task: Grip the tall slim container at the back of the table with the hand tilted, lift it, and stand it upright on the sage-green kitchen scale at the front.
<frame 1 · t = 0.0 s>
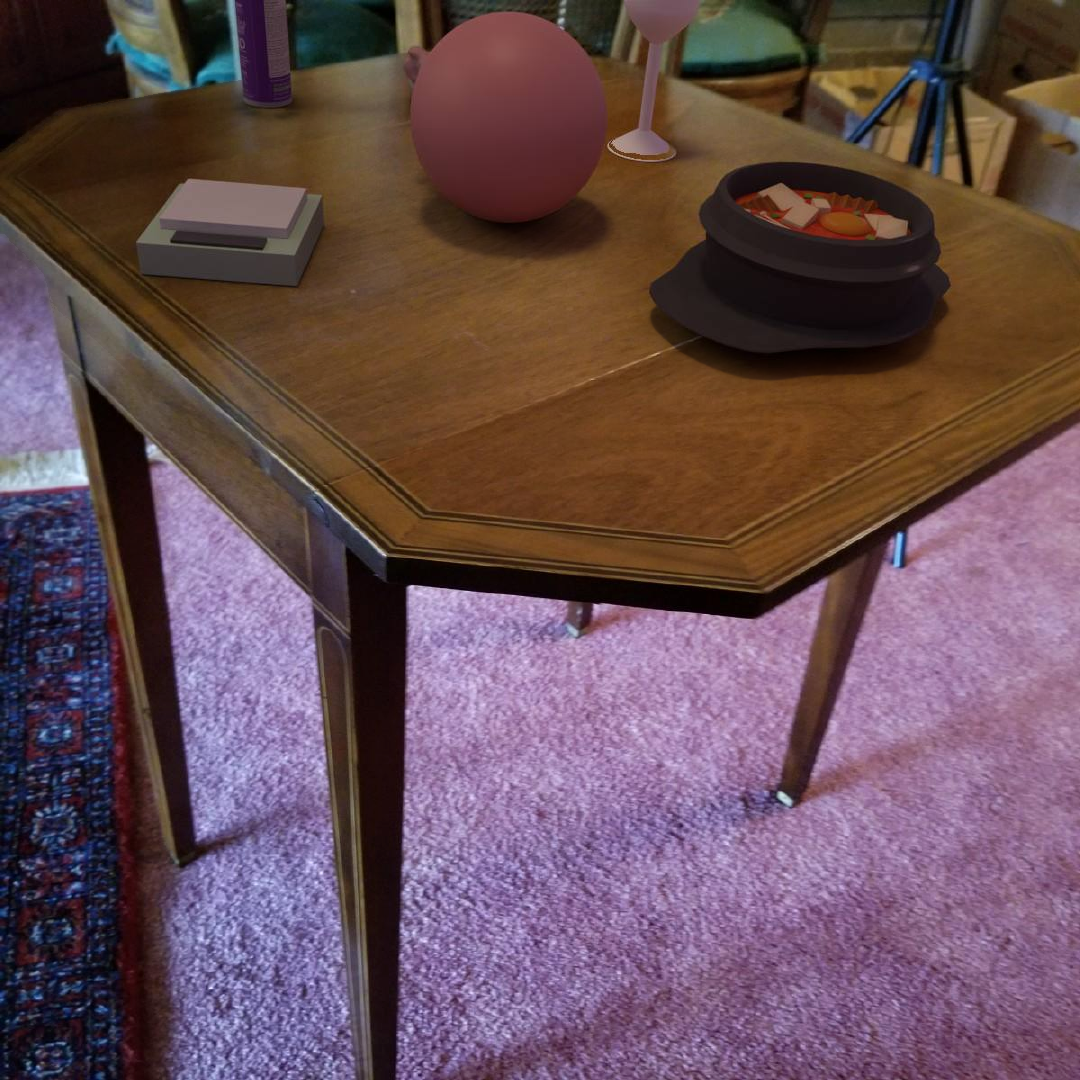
container: (268, 102, 108), on the table
scale: (237, 248, 81), on the table
sea urchin shell: (452, 105, 111), on the table
casserole: (797, 310, 81), on the table
balloon: (486, 207, 91), on the table
champagne flute: (641, 151, 105), on the table
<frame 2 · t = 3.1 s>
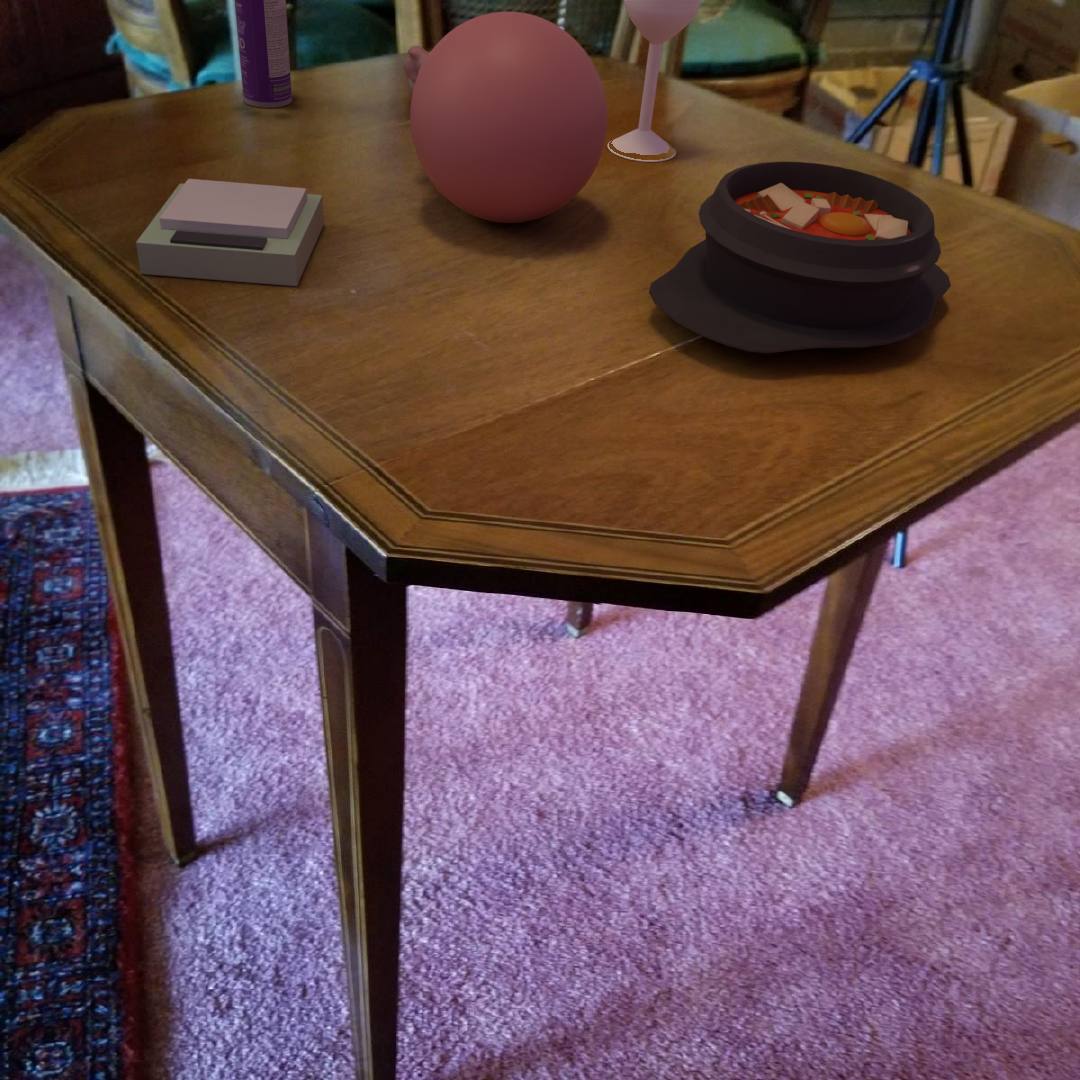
nothing on the table moved.
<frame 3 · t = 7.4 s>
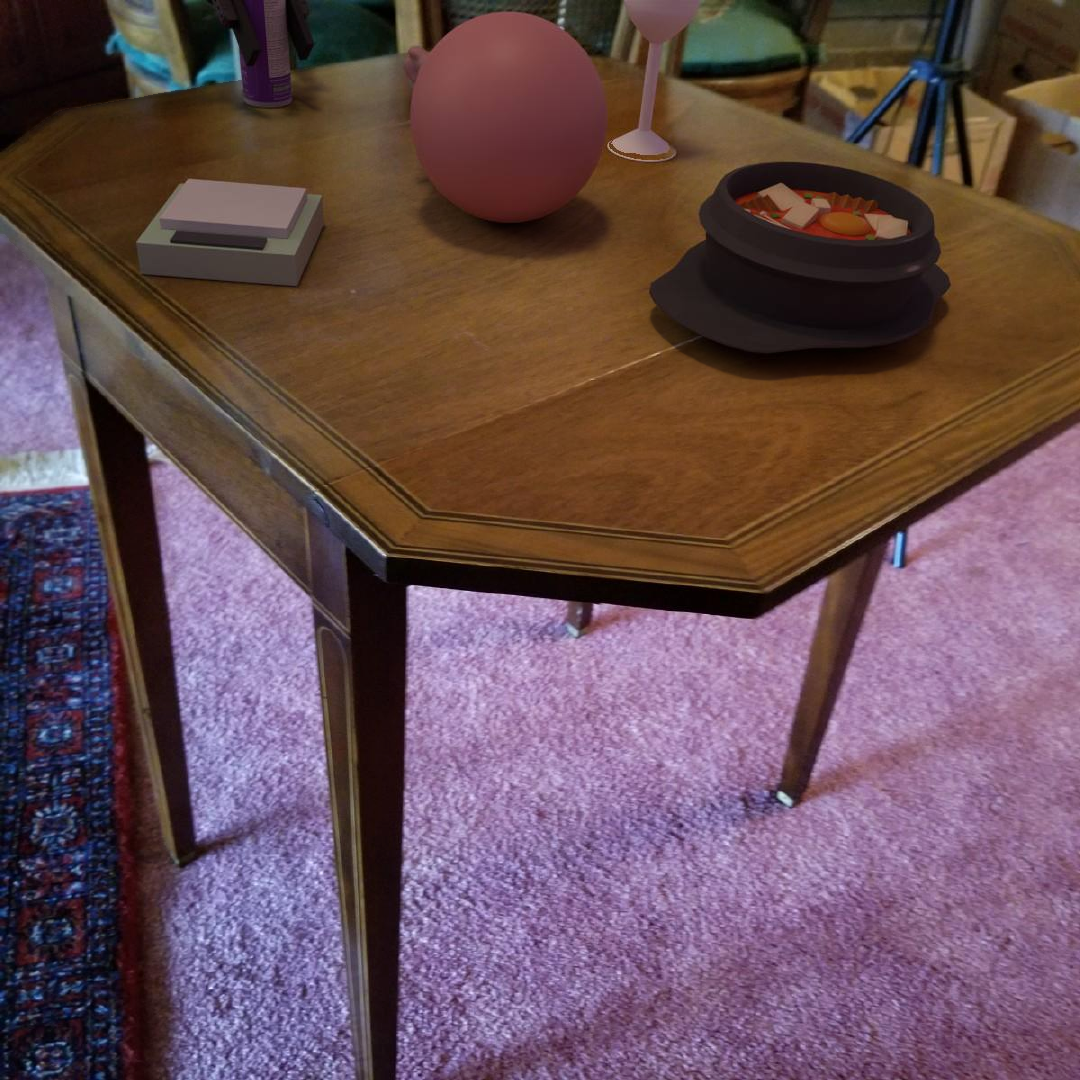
hand: (280, 54, 102), 5 cm above the table, tool tilted 45°, fingers closed on container, 5 cm apart
container: (268, 102, 108), on the table, touching gripper
everything else where it was.
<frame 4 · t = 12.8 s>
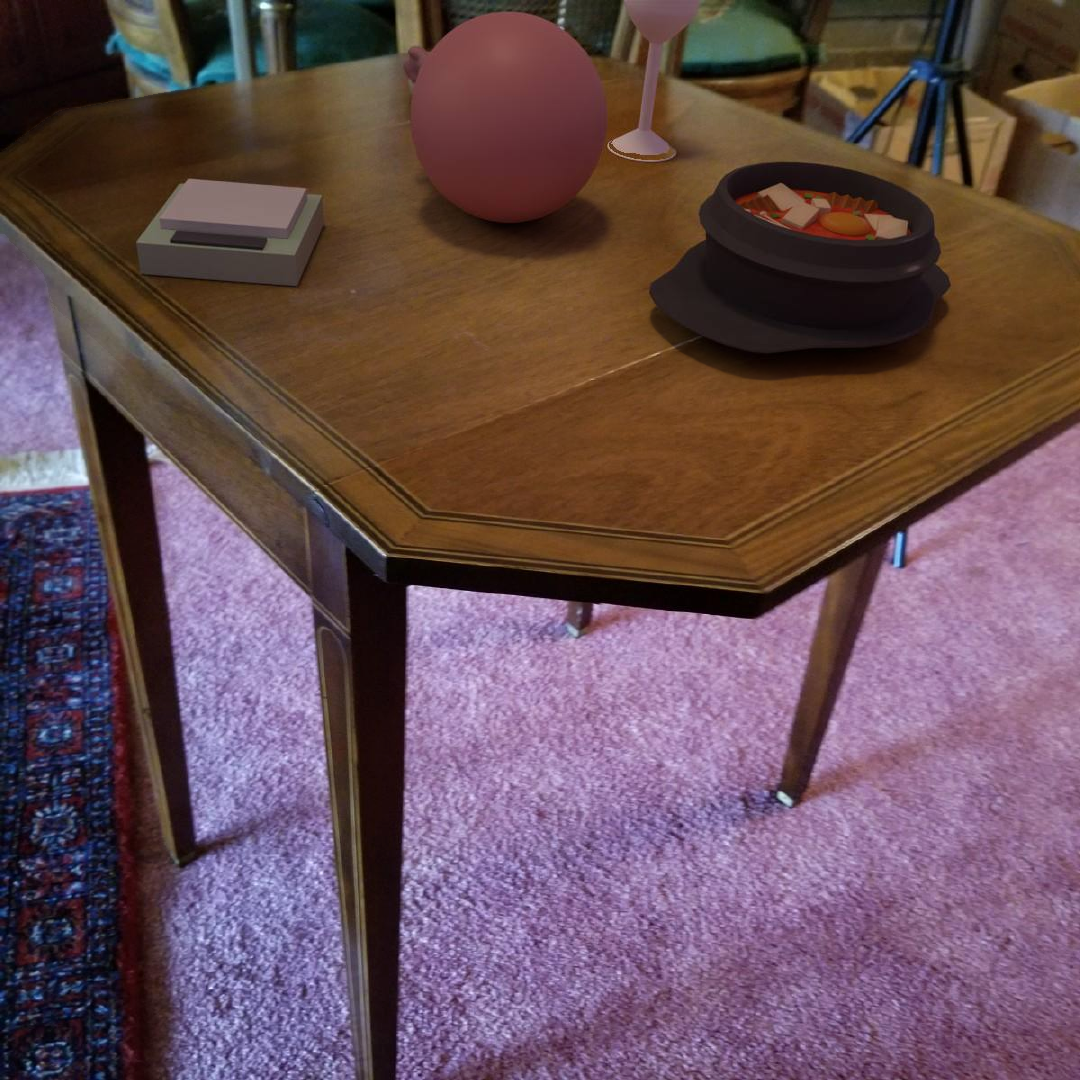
when the fingers open (8 cm above the table, at t = 18.3 s): container stays where it is, resting on scale.
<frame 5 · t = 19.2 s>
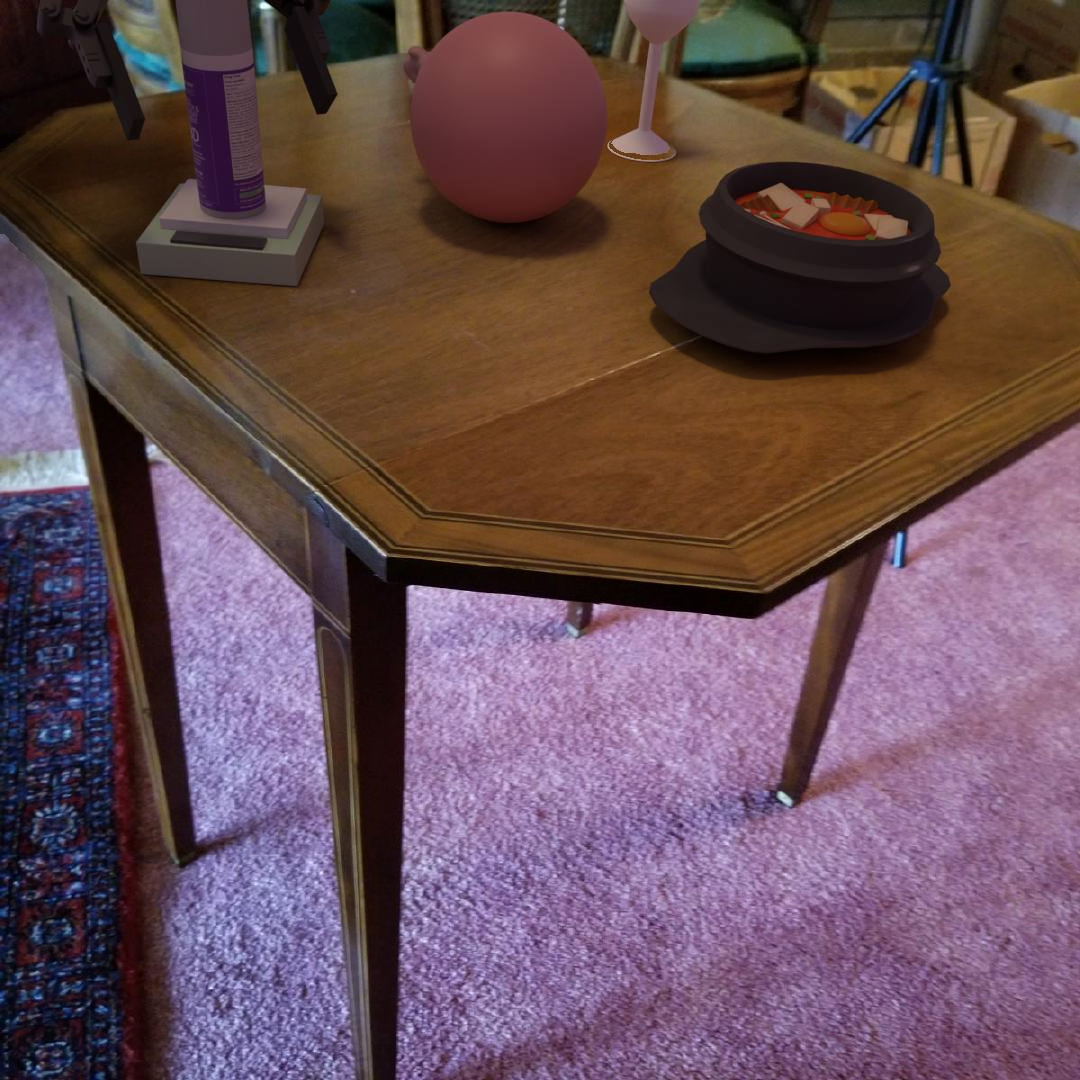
hand: (236, 117, 73), 10 cm above the table, tool tilted 45°, fingers open, 13 cm apart
container: (233, 209, 79), point 3 cm above the table, touching scale
everything else where it was.
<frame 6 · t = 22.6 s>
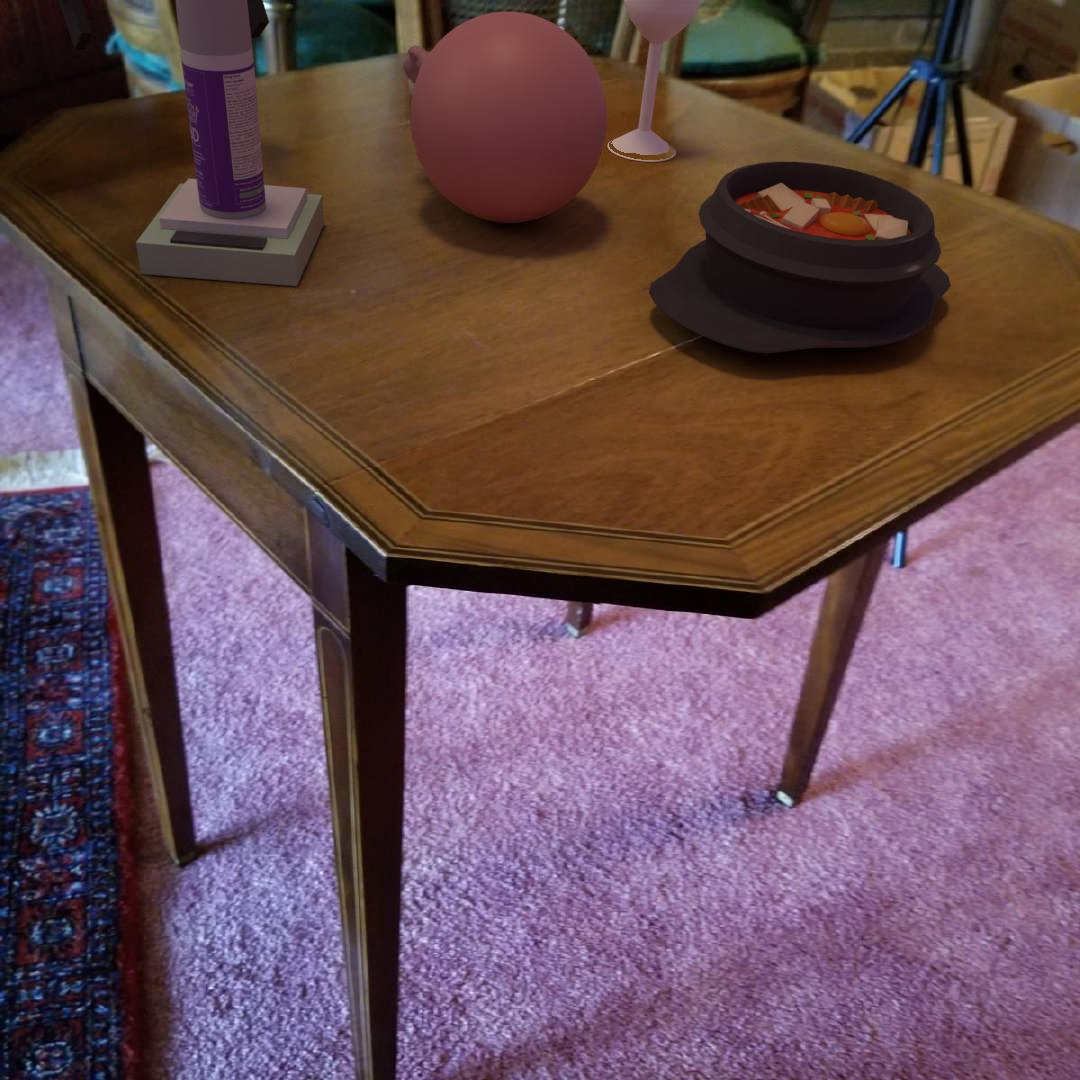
hand: (175, 36, 82), 12 cm above the table, tool tilted 35°, fingers open, 13 cm apart
nothing on the table moved.
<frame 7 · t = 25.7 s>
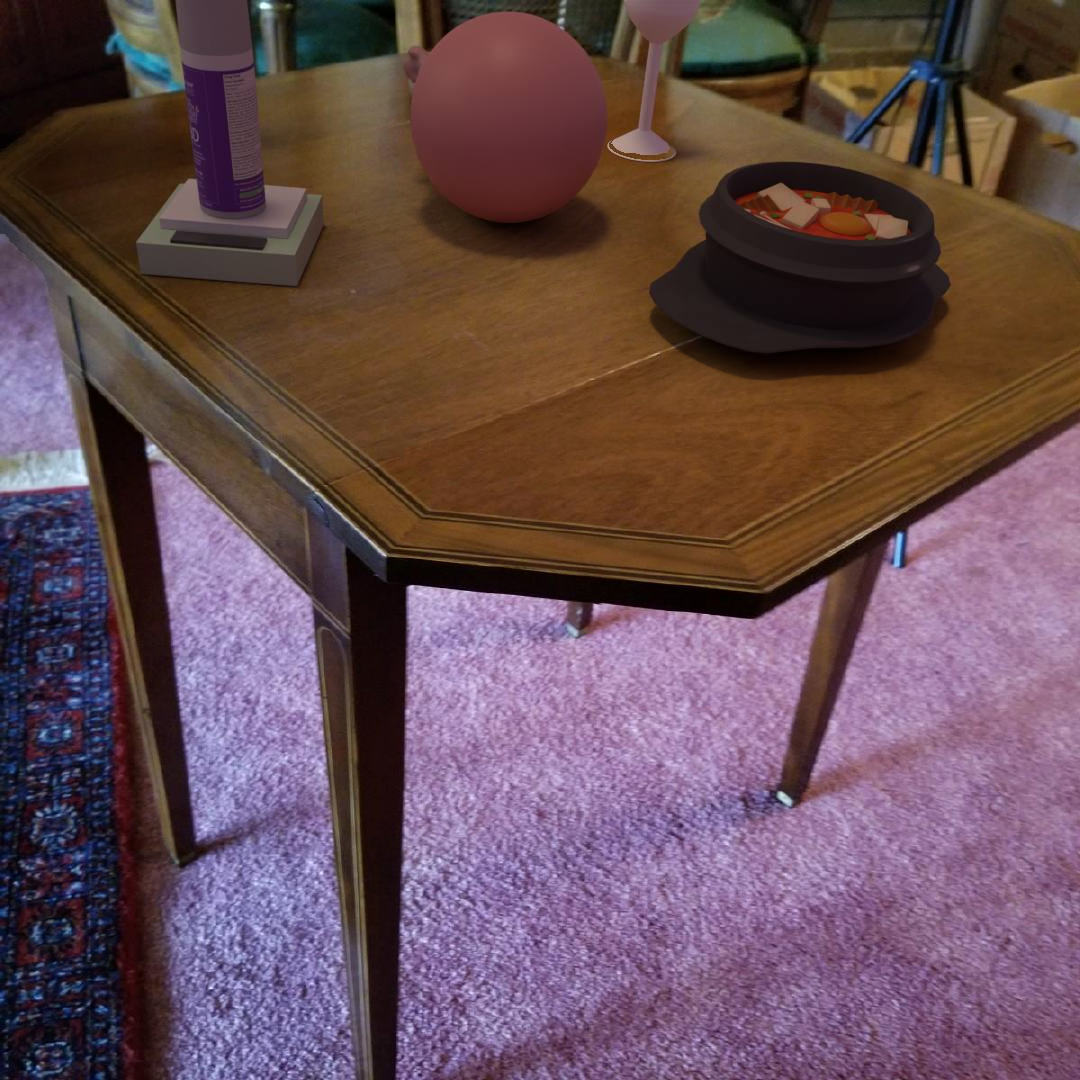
nothing on the table moved.
at the end: container inside the target area on the scale (0.8 cm from its centre), point 3.0 cm above the scale's base; container tilted 0°; the gripper is holding nothing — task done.
